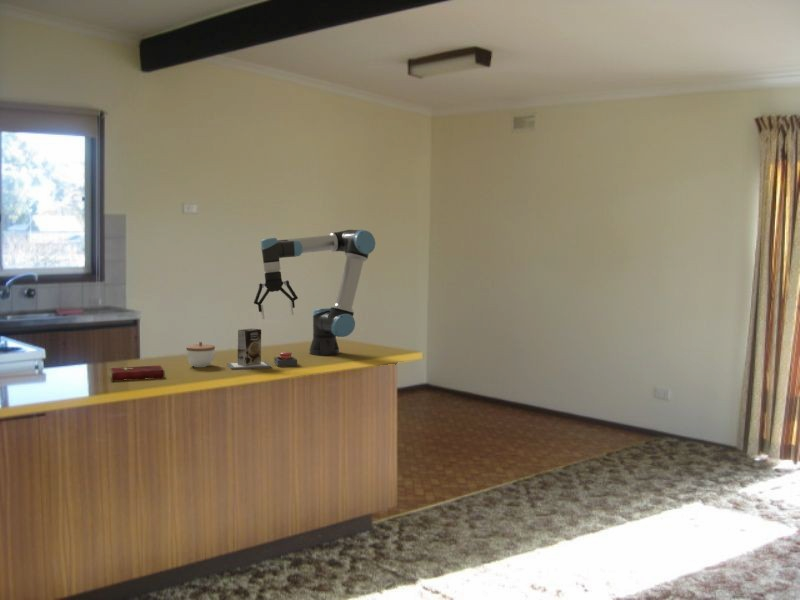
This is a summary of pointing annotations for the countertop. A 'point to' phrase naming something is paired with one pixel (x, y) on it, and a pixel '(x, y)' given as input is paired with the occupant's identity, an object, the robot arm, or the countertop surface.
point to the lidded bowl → (200, 354)
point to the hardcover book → (137, 372)
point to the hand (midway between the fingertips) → (277, 317)
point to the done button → (285, 355)
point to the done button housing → (285, 362)
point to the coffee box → (249, 347)
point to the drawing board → (236, 366)
